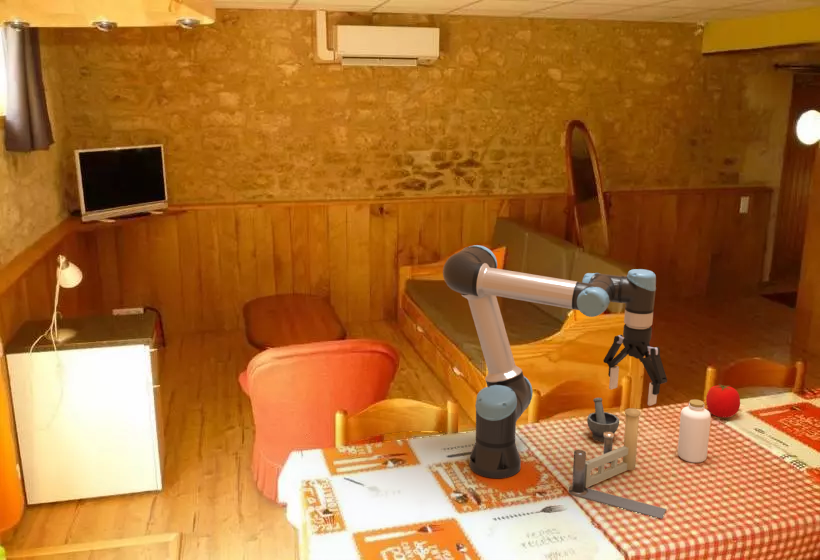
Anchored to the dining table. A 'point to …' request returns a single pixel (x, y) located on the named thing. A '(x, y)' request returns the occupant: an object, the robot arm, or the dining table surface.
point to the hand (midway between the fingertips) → (632, 396)
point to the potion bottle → (694, 432)
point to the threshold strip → (624, 503)
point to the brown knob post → (578, 474)
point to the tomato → (723, 401)
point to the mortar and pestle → (601, 421)
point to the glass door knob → (608, 442)
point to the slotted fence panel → (616, 453)
